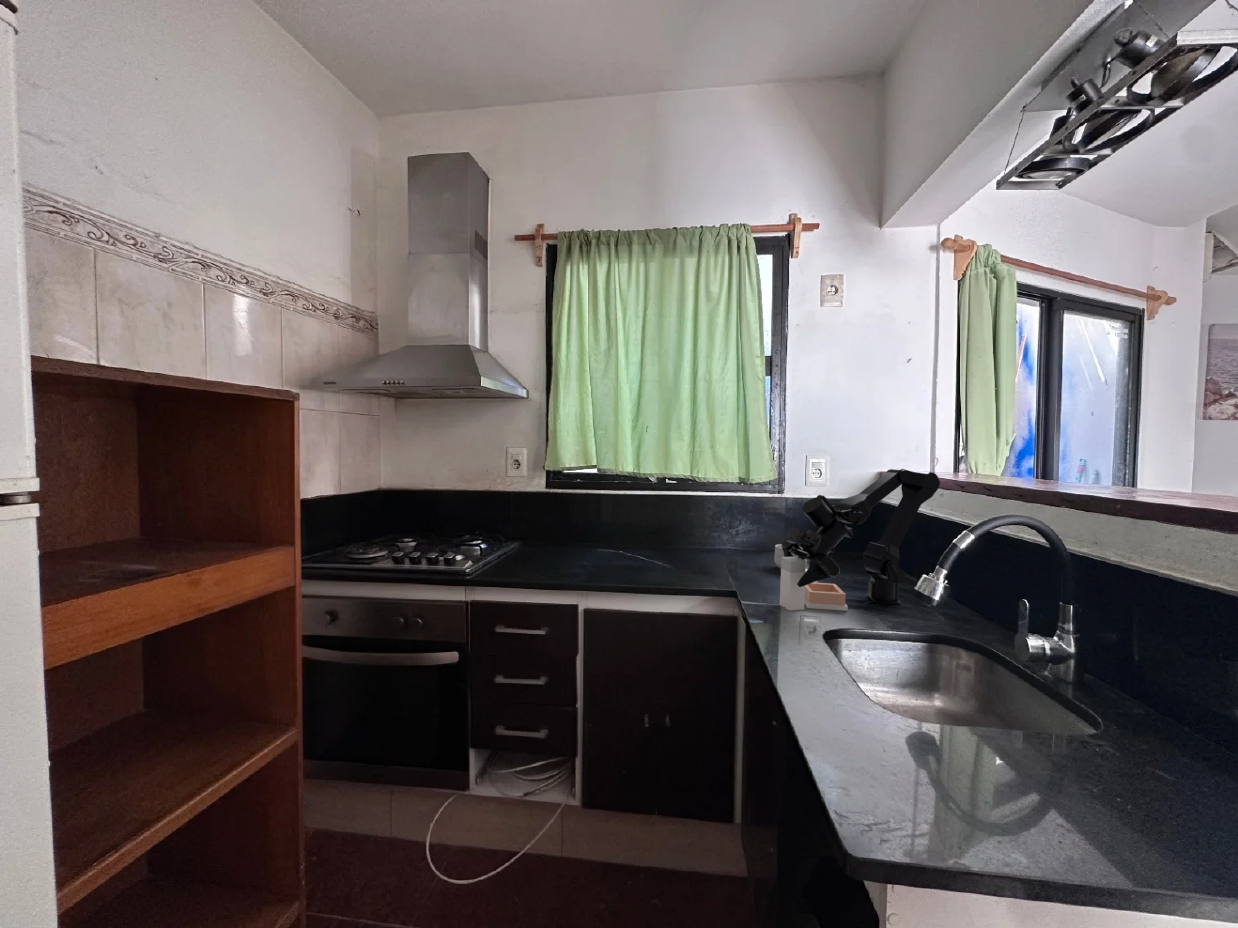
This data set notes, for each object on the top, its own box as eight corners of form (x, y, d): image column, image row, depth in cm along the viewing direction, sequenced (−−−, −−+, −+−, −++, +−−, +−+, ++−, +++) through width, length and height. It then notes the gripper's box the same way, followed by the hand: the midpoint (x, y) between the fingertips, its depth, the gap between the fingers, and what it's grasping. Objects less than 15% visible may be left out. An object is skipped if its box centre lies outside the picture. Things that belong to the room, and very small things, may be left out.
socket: (835, 598, 132) (836, 583, 131) (847, 610, 122) (848, 594, 122) (798, 595, 133) (799, 581, 133) (807, 607, 123) (808, 592, 123)
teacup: (777, 564, 168) (778, 542, 168) (809, 568, 162) (810, 546, 162) (768, 573, 156) (769, 549, 156) (803, 578, 151) (803, 554, 150)
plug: (794, 603, 126) (796, 556, 126) (804, 609, 122) (805, 560, 122) (779, 604, 126) (781, 557, 125) (789, 610, 121) (790, 561, 121)
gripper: (788, 512, 133) (751, 551, 131) (831, 523, 114) (789, 569, 113) (812, 538, 135) (776, 578, 133) (857, 554, 116) (817, 599, 115)
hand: (788, 580), depth 123 cm, fingers open, 9 cm apart
